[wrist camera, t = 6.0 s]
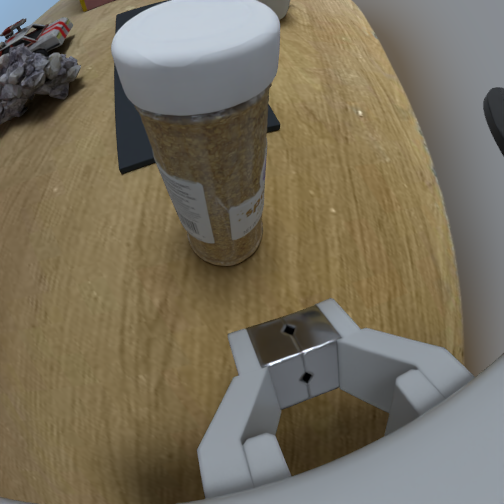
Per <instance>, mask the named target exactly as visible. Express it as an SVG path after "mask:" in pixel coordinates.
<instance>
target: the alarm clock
mask: <svg viewBox="0 0 504 504" xmlns="http://www.w3.org/2000/svg"><path fill="white" fill-rule="evenodd" d="M112 1H114V0H80V3H81V6H82V9H83V12H85V11H88V10H90V9H93V8H95V7H98V6H101V5H103V4H106V3H109V2H112Z"/></svg>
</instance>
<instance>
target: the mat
mask: <svg viewBox="0 0 504 504" xmlns="http://www.w3.org/2000/svg"><path fill="white" fill-rule="evenodd" d="M167 1H171V0H166V1H162V2H158V3H155V4H151V5H147V6H144V7H140V8H137V9H133V10H130V11H127V12H124V13H121V14H118V15H117V16H116V32H115V35H116V33H117V32H118V30H119V29H120V28H121V27H122V26H123V25H124V24H125V23H126V22H127V21H129V20H130V19H131V18H133V17H134V16H136V15H138V14H139V13H141V12H143V11H145V10H147V9H149V8H151V7H153V6H156V5H159V4H161V3H164V2H167ZM114 87H115V120H116V137H117V151H118V162H119V170H120V172H121V173H122V174H123V173H126V172H128V171H131V170H134V169H137V168H140V167H143V166H146V165H149V164H152V163H155V159H154V156H153V151H152V146H151V144H150V141H149V139H148V136H147V133H146V130H145V127H144V125H143V123H142V119H141V116H140V114H139V112H138V111H137V110H136V108H135V106H134V104H133V103H132V102H131V101H130V100H129V99H128V98H127V96H126V94H125V92H124V89H123V87H122V84H121V81H120V78H119V75H118V72H117V69H116V66H115V63H114ZM267 117H268V118H267V132H271V131H275V130H279V129H280V123H279V121H278V120H277V118H276V116H275V114H274V113H273V111H272V109H271V107H270V106H269V104H268V116H267Z"/></svg>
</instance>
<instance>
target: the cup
mask: <svg viewBox="0 0 504 504" xmlns="http://www.w3.org/2000/svg"><path fill="white" fill-rule="evenodd" d="M256 1H259V2H261V3H263V4H265V5H266V6H268V7H269V8H271V9H272V10H273V11H274V12H275V13H276V15H277V16H278V19H279V20H280V19H282V18H283V17H284V16H285V15H286V13H287V11H288V8H289V3H290V0H256Z"/></svg>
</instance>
